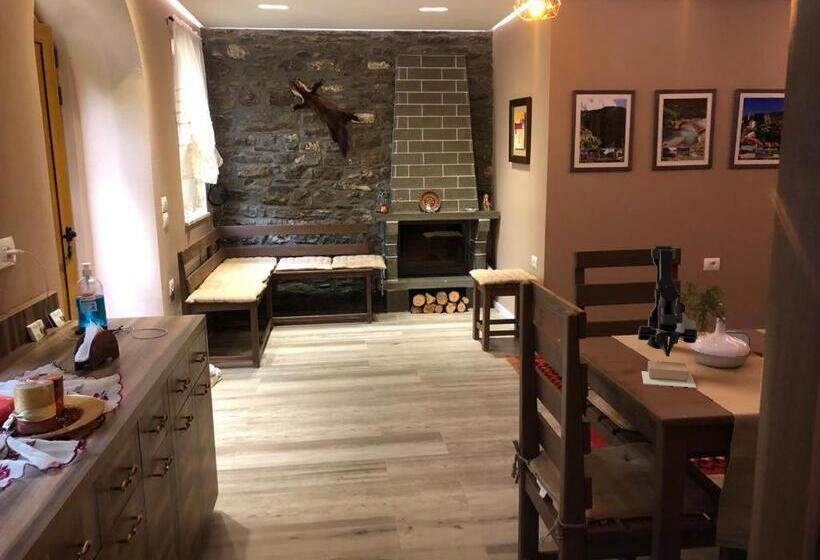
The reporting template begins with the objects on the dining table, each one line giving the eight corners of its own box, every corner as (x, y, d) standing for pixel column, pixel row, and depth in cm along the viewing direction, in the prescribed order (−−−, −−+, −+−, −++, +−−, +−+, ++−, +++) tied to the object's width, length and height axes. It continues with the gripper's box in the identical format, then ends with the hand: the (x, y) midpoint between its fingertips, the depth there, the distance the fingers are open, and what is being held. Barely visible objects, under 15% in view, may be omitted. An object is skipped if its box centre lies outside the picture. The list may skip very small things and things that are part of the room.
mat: (641, 372, 230) (641, 371, 230) (691, 375, 225) (691, 374, 225) (643, 384, 217) (643, 383, 217) (696, 388, 213) (696, 387, 213)
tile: (648, 360, 229) (649, 368, 221) (685, 363, 226) (688, 371, 218) (647, 370, 230) (649, 378, 222) (684, 373, 227) (687, 381, 218)
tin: (747, 350, 254) (749, 329, 252) (750, 353, 251) (752, 331, 249) (706, 350, 255) (708, 328, 254) (709, 352, 252) (710, 330, 251)
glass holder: (677, 341, 267) (679, 305, 264) (665, 332, 281) (667, 298, 278) (699, 342, 266) (702, 305, 264) (686, 332, 280) (688, 298, 278)
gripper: (640, 303, 230) (640, 342, 221) (698, 305, 225) (700, 346, 216) (638, 319, 239) (638, 358, 230) (694, 322, 234) (696, 362, 225)
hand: (667, 355), depth 225 cm, fingers closed
